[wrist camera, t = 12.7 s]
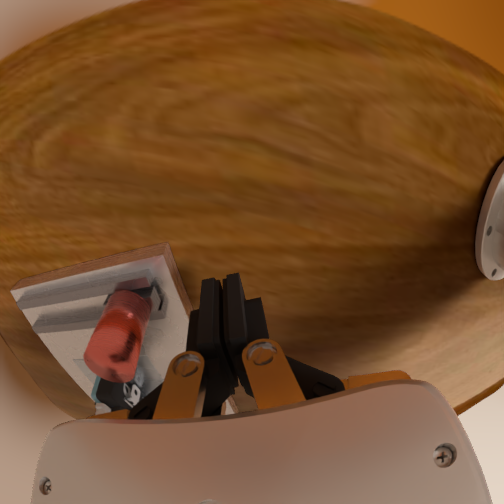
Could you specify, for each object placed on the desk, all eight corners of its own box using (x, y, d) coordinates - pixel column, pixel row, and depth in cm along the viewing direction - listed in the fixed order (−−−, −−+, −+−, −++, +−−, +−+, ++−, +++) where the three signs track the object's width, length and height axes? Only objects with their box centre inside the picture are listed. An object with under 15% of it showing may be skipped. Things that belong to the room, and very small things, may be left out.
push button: (173, 408, 20) (167, 513, 11) (124, 411, 20) (110, 504, 12) (131, 362, 17) (105, 491, 8) (80, 369, 17) (48, 475, 8)
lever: (149, 274, 14) (124, 345, 9) (165, 309, 15) (149, 381, 10) (103, 284, 14) (68, 348, 9) (120, 316, 15) (96, 383, 10)
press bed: (168, 241, 15) (139, 321, 9) (237, 408, 23) (242, 467, 18) (19, 279, 15) (-25, 336, 9) (121, 414, 23) (112, 464, 18)
